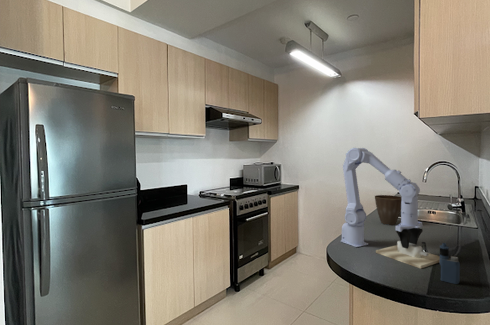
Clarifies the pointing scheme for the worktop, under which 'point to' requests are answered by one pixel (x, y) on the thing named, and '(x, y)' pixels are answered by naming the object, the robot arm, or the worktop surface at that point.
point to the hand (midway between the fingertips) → (409, 246)
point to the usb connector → (411, 250)
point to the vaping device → (449, 266)
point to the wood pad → (409, 257)
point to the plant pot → (388, 208)
